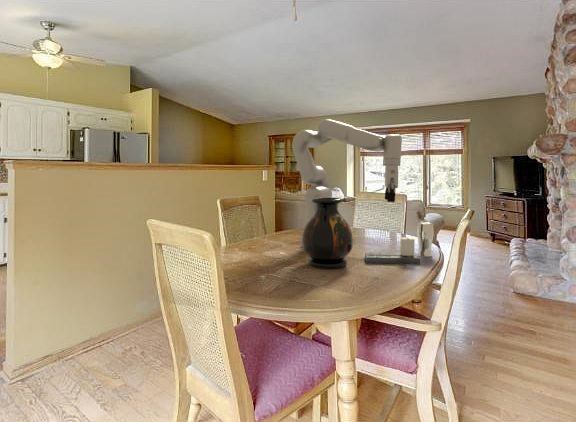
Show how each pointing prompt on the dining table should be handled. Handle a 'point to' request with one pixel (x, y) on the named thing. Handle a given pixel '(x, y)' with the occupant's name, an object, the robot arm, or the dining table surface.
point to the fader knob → (407, 246)
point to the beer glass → (425, 238)
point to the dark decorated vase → (327, 235)
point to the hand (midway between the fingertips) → (389, 200)
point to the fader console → (391, 258)
